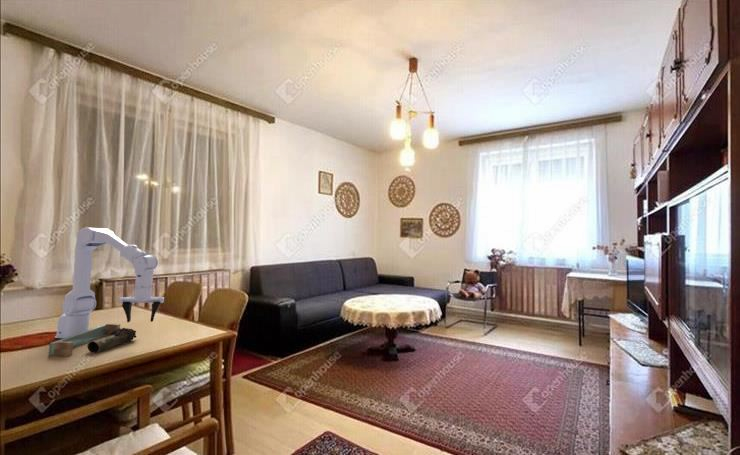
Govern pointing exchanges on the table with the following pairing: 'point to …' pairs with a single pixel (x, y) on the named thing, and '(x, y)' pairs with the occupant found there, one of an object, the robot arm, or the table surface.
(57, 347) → the dock
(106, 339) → the metal pipe
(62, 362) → the table surface
